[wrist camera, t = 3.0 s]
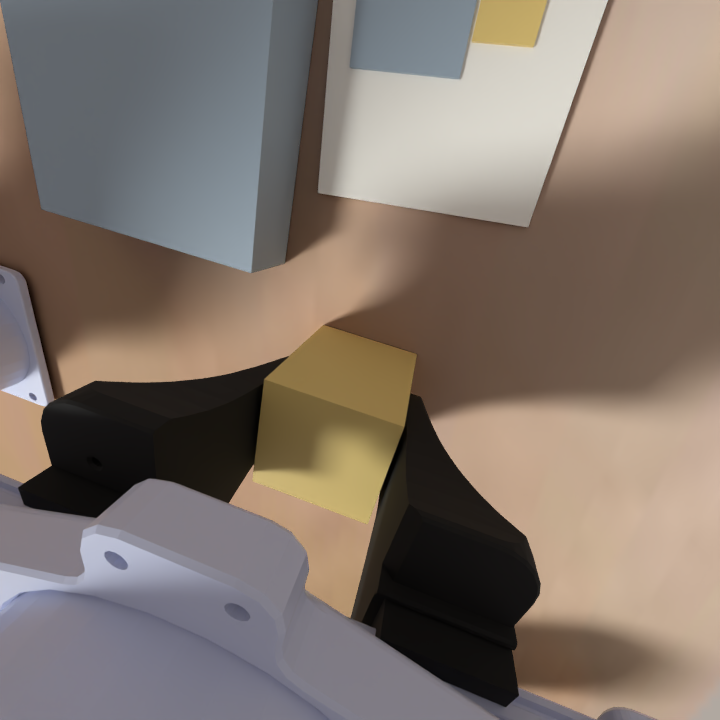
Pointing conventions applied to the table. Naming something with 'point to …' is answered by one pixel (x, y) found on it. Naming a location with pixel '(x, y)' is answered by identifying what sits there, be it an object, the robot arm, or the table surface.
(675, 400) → the table surface
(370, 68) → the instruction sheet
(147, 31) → the base brick
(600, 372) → the table surface
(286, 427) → the ochre block
